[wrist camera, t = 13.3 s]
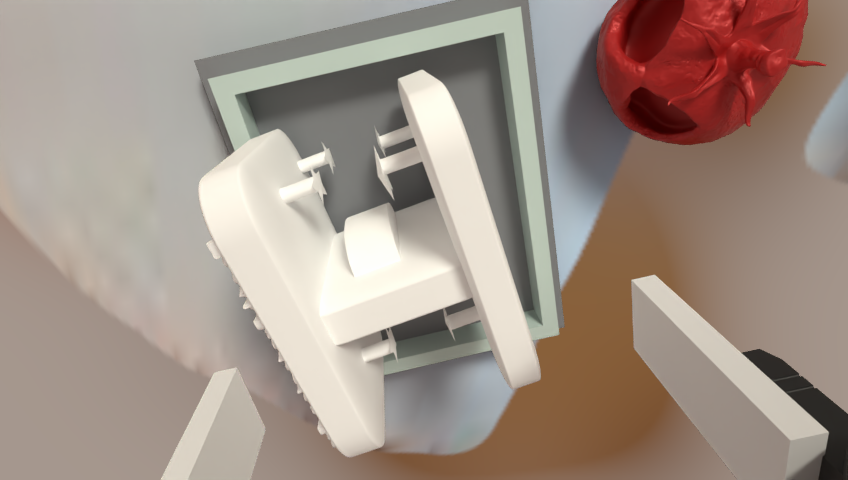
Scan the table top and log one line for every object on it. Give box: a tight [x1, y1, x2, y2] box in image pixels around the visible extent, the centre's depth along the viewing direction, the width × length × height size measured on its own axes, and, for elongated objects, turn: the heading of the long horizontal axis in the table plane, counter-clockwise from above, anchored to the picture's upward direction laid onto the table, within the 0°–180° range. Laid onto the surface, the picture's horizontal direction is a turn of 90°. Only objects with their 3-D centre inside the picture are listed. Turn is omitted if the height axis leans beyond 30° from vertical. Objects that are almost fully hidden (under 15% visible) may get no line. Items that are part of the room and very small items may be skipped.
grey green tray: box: [194, 0, 564, 375], centre depth 29 cm, size 18×22×4 cm
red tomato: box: [596, 0, 826, 145], centre depth 25 cm, size 10×10×9 cm
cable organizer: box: [199, 70, 541, 457], centre depth 24 cm, size 15×11×12 cm
